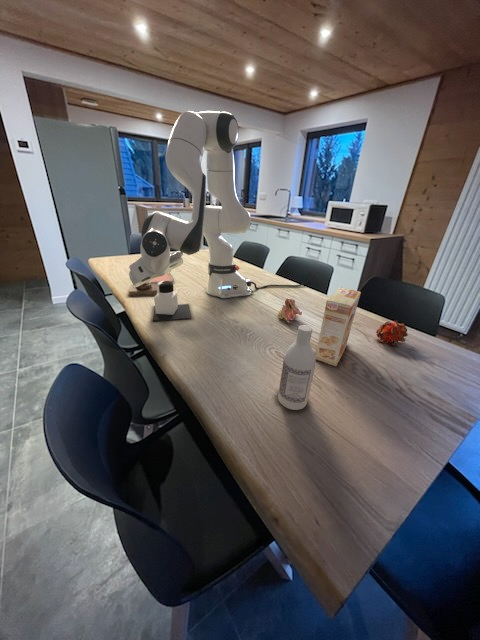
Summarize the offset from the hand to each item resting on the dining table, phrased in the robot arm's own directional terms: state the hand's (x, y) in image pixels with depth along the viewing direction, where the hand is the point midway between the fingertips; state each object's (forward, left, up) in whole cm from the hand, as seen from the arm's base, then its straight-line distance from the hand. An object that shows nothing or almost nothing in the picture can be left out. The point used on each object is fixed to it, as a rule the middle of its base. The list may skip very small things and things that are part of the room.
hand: (158, 275), depth 104 cm
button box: (+8, -20, -14) cm, 26 cm away
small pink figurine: (-50, +19, -14) cm, 56 cm away
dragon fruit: (-77, +42, -14) cm, 89 cm away
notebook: (+4, -43, -14) cm, 45 cm away
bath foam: (-31, +62, -14) cm, 71 cm away
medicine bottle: (-3, +5, -13) cm, 15 cm away
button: (+8, -20, -10) cm, 24 cm away
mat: (-4, +6, -14) cm, 15 cm away
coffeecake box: (-53, +44, -14) cm, 70 cm away
